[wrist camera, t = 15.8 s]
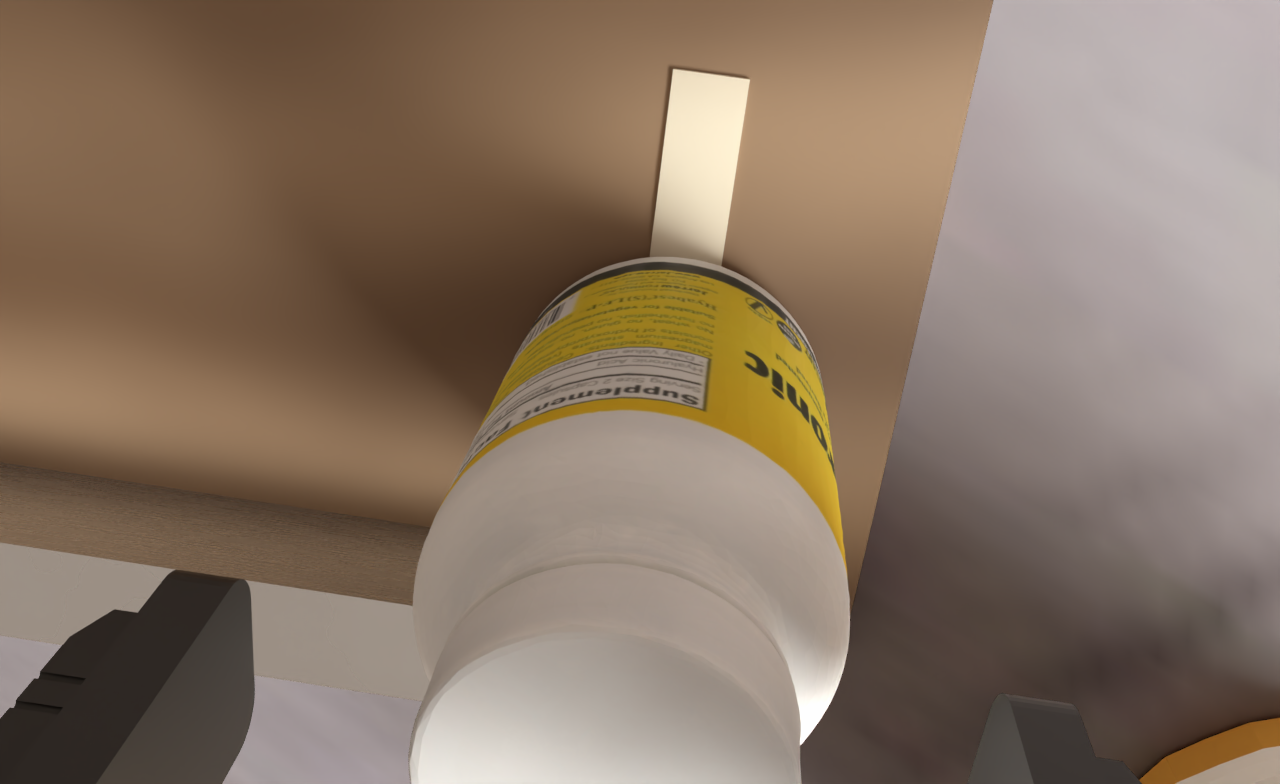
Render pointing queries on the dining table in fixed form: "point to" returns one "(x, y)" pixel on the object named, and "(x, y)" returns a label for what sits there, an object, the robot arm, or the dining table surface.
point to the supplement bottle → (638, 547)
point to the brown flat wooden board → (440, 217)
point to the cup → (1225, 758)
